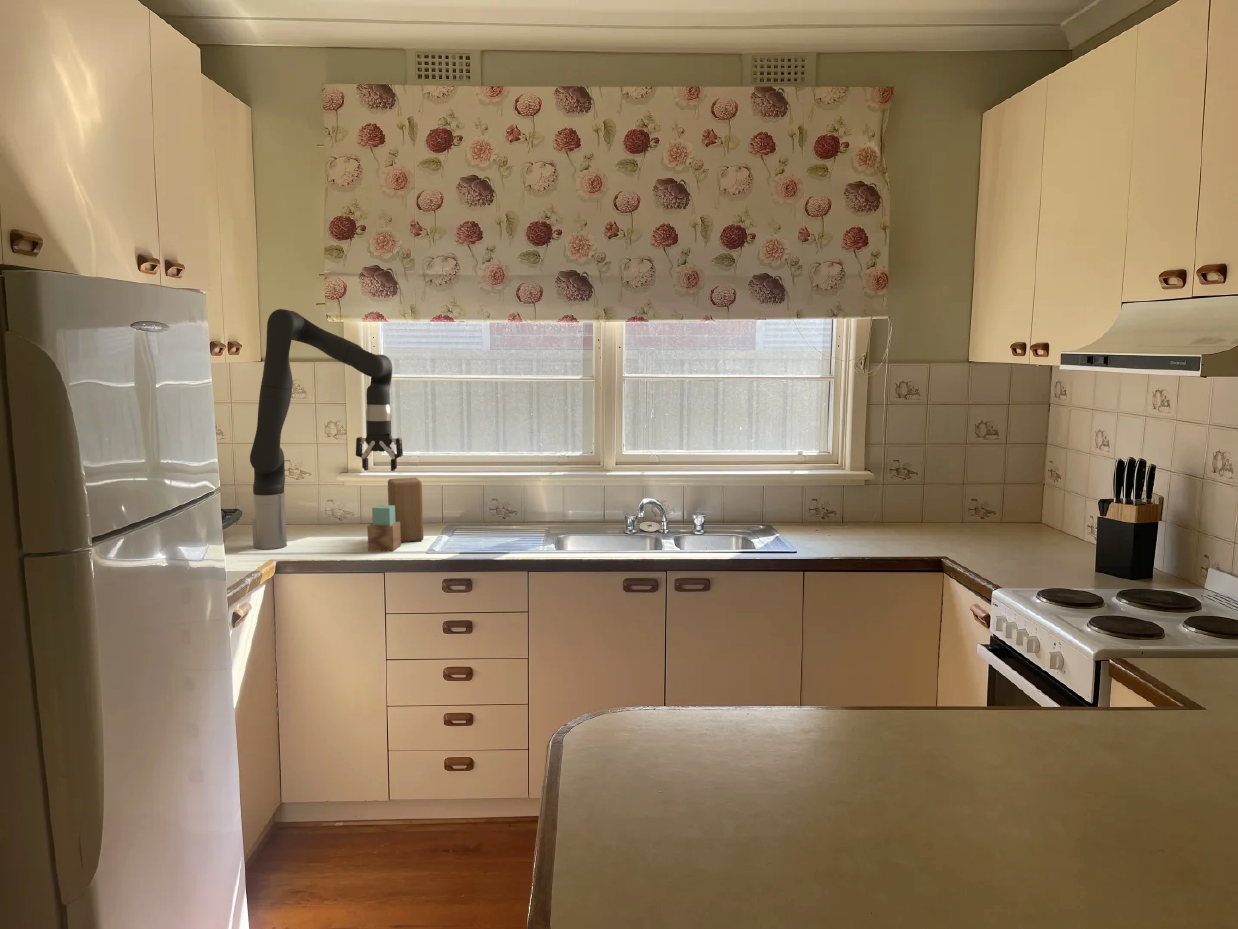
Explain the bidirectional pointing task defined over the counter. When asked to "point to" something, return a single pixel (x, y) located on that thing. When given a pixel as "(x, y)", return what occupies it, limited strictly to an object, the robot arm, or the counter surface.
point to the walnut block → (384, 537)
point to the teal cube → (383, 515)
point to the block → (407, 507)
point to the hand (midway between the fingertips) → (379, 470)
